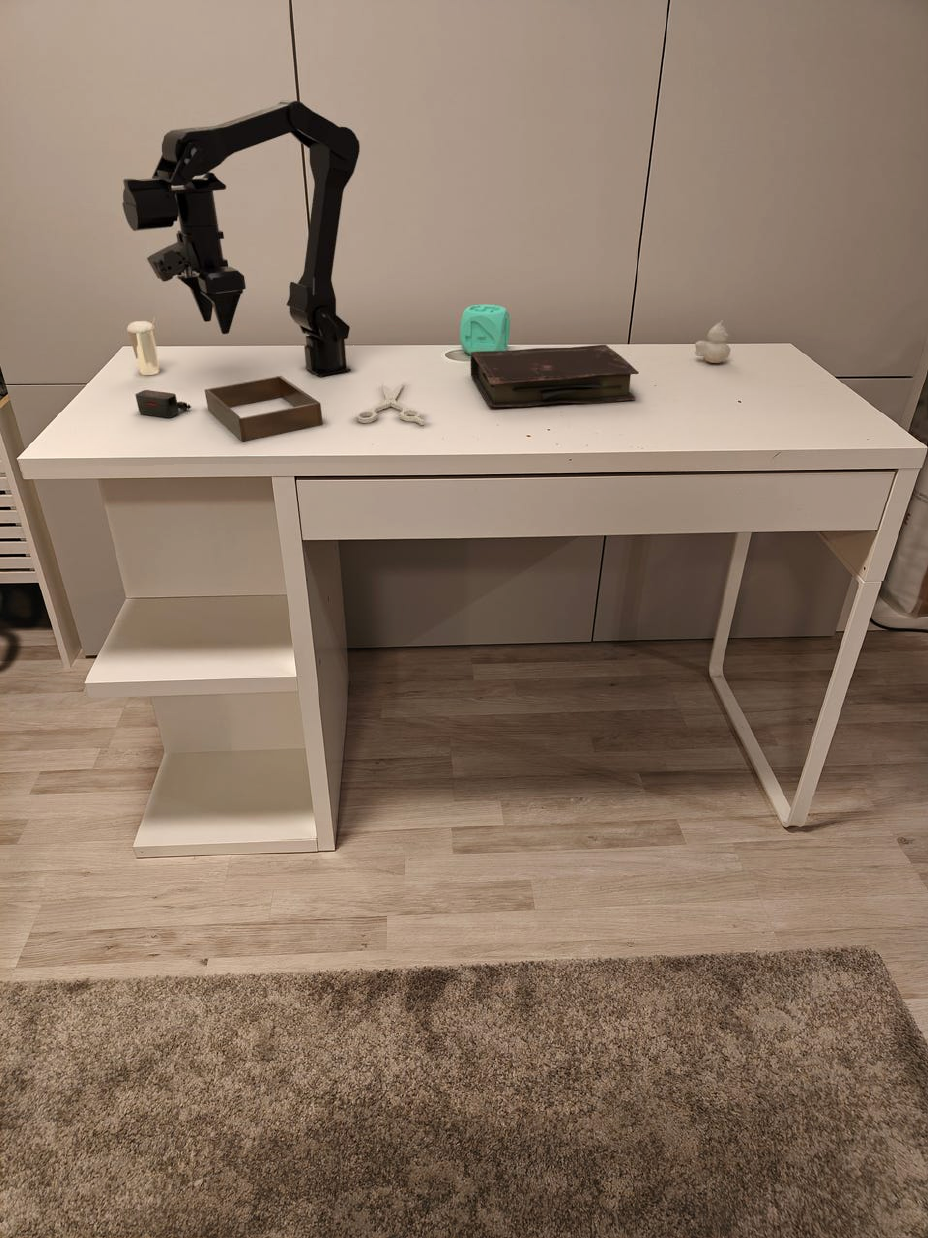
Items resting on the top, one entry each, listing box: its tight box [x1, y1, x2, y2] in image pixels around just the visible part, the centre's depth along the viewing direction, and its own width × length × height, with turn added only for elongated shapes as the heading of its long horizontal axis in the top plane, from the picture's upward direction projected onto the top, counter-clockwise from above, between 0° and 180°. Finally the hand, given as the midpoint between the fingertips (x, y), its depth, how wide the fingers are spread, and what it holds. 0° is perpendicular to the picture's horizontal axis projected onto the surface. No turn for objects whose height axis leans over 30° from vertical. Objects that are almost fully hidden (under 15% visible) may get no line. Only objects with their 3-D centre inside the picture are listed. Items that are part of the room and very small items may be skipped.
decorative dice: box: [459, 304, 511, 356], centre depth 160 cm, size 8×8×8 cm
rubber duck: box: [694, 318, 731, 364], centre depth 154 cm, size 5×7×8 cm
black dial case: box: [134, 389, 192, 419], centre depth 134 cm, size 5×7×3 cm, turn 70°
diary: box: [470, 344, 639, 408], centre depth 142 cm, size 19×25×5 cm
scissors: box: [356, 382, 425, 426], centre depth 137 cm, size 11×1×20 cm
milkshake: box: [126, 317, 160, 376], centre depth 149 cm, size 4×5×10 cm
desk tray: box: [204, 375, 324, 443], centre depth 132 cm, size 13×16×4 cm
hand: (216, 327), depth 137 cm, fingers open, 9 cm apart
